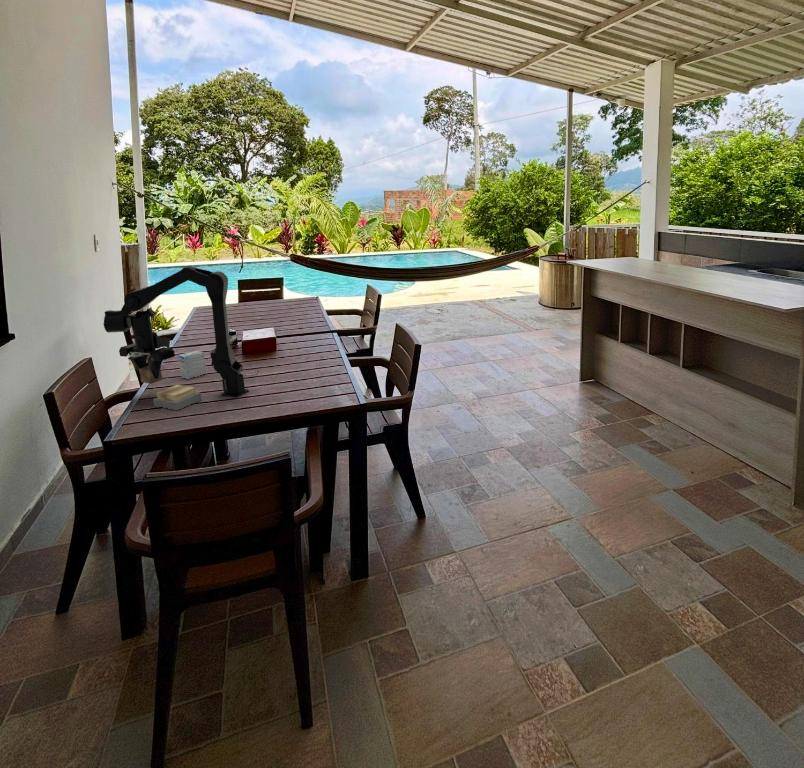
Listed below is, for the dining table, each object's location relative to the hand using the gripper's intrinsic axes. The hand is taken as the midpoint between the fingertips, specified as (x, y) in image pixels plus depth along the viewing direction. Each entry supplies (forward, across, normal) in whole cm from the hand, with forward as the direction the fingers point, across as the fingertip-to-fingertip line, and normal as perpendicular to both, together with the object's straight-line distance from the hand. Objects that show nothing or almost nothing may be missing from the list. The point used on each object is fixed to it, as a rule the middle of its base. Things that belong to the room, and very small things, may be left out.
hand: (151, 377), depth 179 cm
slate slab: (+7, -11, +1) cm, 13 cm away
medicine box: (+7, +6, -23) cm, 25 cm away
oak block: (+5, -11, +1) cm, 12 cm away
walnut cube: (+1, 0, 0) cm, 1 cm away
